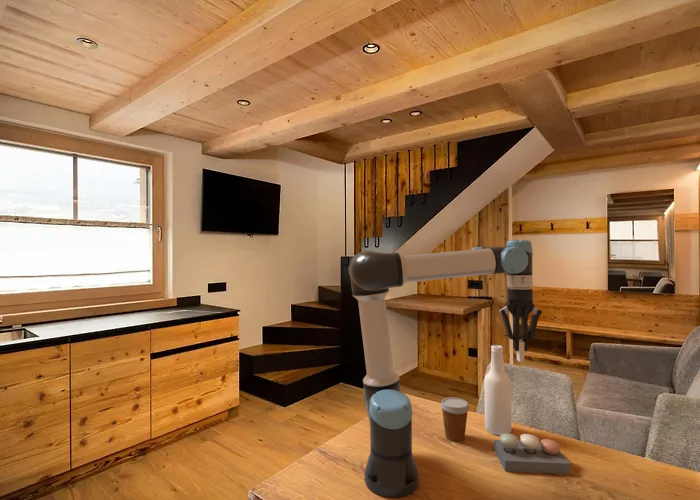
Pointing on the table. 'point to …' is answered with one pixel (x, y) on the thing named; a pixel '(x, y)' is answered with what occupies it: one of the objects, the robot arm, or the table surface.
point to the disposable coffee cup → (454, 418)
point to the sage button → (509, 442)
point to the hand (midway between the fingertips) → (520, 360)
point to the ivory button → (529, 442)
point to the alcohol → (497, 395)
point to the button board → (531, 460)
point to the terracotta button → (550, 446)
